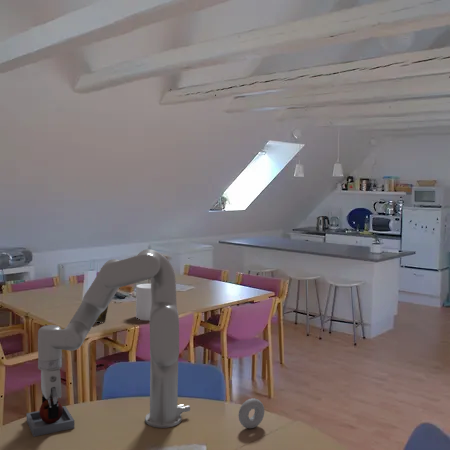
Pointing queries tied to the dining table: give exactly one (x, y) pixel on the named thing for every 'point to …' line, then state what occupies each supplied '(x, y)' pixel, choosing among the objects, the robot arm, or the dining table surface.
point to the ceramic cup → (102, 316)
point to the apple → (44, 412)
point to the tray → (43, 428)
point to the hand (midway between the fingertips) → (50, 412)
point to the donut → (245, 410)
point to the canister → (143, 301)
